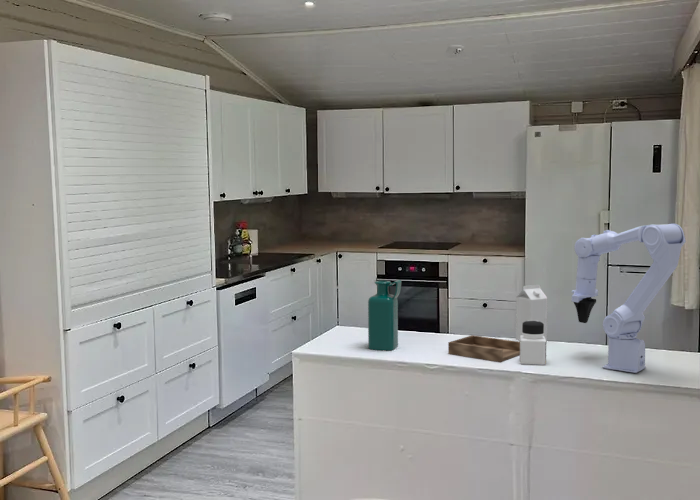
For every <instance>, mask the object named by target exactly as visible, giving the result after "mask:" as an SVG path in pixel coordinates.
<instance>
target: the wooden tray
mask: <svg viewBox="0 0 700 500" xmlns="http://www.w3.org/2000/svg"><path fill="white" fill-rule="evenodd" d="M447 345H448V351H447V352H448V355H455V356H460V357H465V358H473V359H478V360H483V361H484V360H485V361H491V362H495V363H496V362H497V363H503V362H505V361H508V360H510V359H513V358H515V357H518V356H519V357H520V341H519V340H517V341H516V340H509V339H502V338H496V337H487V336H481V335H469V336H465V337H461V338H459V339H455V340H452V341H449V342H448V344H447Z"/></svg>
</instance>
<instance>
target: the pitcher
mask: <svg viewBox="0 0 700 500" xmlns="http://www.w3.org/2000/svg"><path fill="white" fill-rule="evenodd" d="M374 284H375V285H376V294H373V295H371V296H370V297H369V298H368V300H367V327H368V330H367V333H368V335H367V336H368V337H367V341H368V342H367V343H368V345H367V347H368V349H369V350H373V351H383V350H386V352H387V351H389V352H390V350H391V351H393V350H395V349H396V348H398V346H399V326H398V325H399V317H398V316H399V315H398V314H399V313H398V311H399V309H398V308H399V302H398V297H399V295H400V293H401V289H402V280H400V279H397V280H395V281H393V282H391V281H390V280H376V281H374ZM393 285H395V293H394V294H390V291H389V287H391V286H393Z"/></svg>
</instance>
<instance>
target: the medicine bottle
mask: <svg viewBox="0 0 700 500" xmlns="http://www.w3.org/2000/svg"><path fill="white" fill-rule="evenodd" d="M519 342H520V355H519V360H520V361H519V362H520V364H521V365H536V366H546V365H547V341H546V339H545V337H544V324H543V323H542V322H540V321H525V322H523V324H522V335H521V336H520V341H519Z"/></svg>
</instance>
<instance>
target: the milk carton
mask: <svg viewBox="0 0 700 500" xmlns="http://www.w3.org/2000/svg"><path fill="white" fill-rule="evenodd" d="M522 288H523V289H522V291H520V292H519V293H518V294H517V296H516V299H515V300H516V302H515V303H516V305H515V311H516V312H515V315H516V316H515V324H516V325H515V341H516V340H517V341H518V342H520V336H521V335H522V324H523V322H525V321H540V322H542V323H543V324H544V337H545V339H546V342H547V341H548V340H547V339H548V297H547V295H546V294H545V293H544V291H543V290H542V288H541V284H534V285H533V284H532V285H523V287H522Z"/></svg>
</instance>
